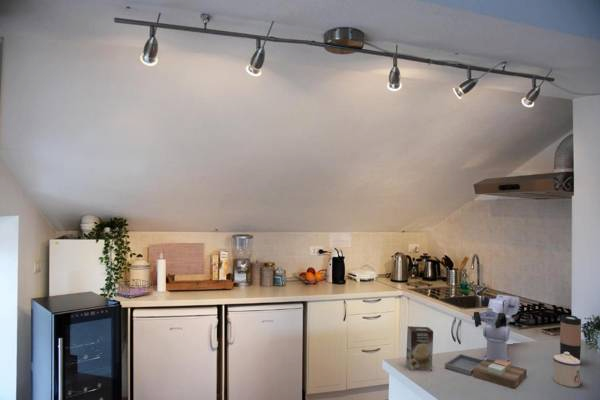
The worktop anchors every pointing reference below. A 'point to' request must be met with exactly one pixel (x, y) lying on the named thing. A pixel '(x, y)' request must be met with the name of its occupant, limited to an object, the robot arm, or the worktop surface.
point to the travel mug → (570, 335)
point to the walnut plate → (507, 379)
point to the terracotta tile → (503, 363)
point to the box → (463, 364)
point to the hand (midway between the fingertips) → (486, 325)
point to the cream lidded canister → (566, 370)
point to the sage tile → (496, 369)
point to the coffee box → (419, 348)
